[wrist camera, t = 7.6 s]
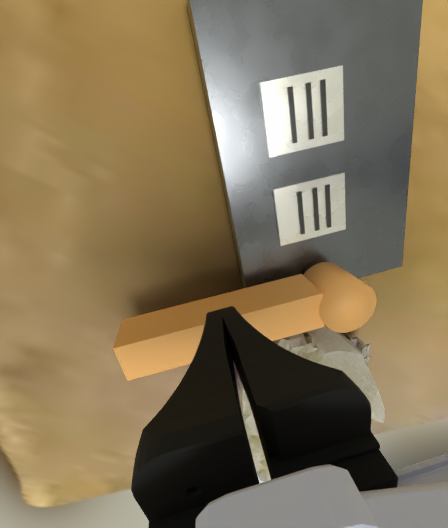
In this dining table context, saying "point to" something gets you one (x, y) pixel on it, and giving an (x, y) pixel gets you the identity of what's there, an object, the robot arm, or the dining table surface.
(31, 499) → the dining table surface
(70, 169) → the dining table surface
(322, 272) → the orange rectangular block
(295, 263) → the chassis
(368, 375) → the geode
